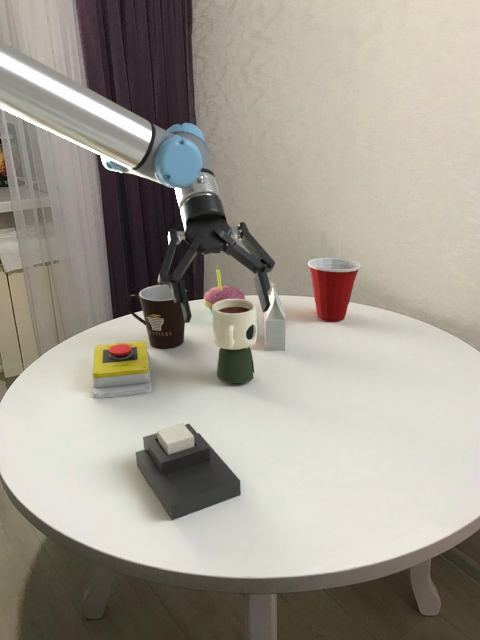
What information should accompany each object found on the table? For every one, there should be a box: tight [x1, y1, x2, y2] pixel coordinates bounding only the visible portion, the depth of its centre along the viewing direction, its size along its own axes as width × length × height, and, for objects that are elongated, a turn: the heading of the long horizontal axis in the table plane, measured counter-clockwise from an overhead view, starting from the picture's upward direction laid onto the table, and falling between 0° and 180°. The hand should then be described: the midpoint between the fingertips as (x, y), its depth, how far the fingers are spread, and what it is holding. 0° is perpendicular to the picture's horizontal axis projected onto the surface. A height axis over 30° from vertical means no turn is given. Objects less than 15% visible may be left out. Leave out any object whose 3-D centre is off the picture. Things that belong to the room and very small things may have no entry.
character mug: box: [211, 299, 258, 384], centre depth 96 cm, size 11×7×13 cm, turn 174°
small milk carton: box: [263, 287, 287, 351], centre depth 110 cm, size 4×7×10 cm, turn 2°
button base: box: [135, 423, 242, 521], centre depth 74 cm, size 12×9×4 cm
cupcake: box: [203, 266, 246, 315], centre depth 120 cm, size 9×8×12 cm
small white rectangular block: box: [156, 422, 194, 455], centre depth 75 cm, size 4×4×2 cm
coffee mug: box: [124, 284, 188, 350], centre depth 111 cm, size 12×9×10 cm
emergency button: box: [92, 340, 153, 399], centre depth 99 cm, size 9×4×15 cm
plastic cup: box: [306, 257, 362, 323], centre depth 121 cm, size 11×11×12 cm
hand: (228, 314), depth 98 cm, fingers open, 13 cm apart
